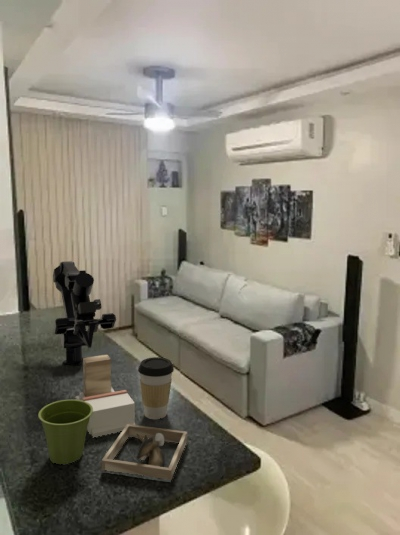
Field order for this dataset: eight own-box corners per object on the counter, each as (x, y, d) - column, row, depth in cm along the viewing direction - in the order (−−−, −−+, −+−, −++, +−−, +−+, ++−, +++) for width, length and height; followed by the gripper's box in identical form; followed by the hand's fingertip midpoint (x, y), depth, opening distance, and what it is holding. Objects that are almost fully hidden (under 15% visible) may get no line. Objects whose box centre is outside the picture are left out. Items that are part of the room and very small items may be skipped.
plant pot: (64, 479, 89) (62, 430, 88) (28, 460, 95) (26, 414, 94) (104, 452, 99) (103, 408, 98) (69, 437, 105) (68, 394, 104)
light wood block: (83, 396, 124) (82, 357, 122) (106, 391, 127) (106, 353, 126) (86, 402, 120) (86, 362, 118) (110, 398, 123) (110, 359, 122)
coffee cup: (178, 409, 121) (179, 359, 119) (164, 425, 112) (165, 372, 110) (147, 403, 124) (147, 354, 122) (131, 418, 115) (131, 366, 113)
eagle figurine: (126, 449, 99) (128, 465, 90) (143, 422, 100) (146, 435, 91) (154, 464, 100) (158, 481, 91) (170, 437, 101) (175, 452, 92)
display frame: (127, 435, 107) (127, 424, 106) (187, 443, 104) (187, 431, 104) (101, 472, 92) (101, 460, 91) (170, 483, 89) (171, 470, 88)
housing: (73, 400, 125) (73, 380, 124) (113, 393, 130) (113, 373, 129) (91, 438, 105) (90, 414, 104) (137, 428, 110) (137, 405, 109)
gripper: (54, 293, 128) (61, 338, 120) (114, 288, 136) (124, 330, 128) (51, 312, 136) (57, 356, 128) (108, 307, 144) (117, 347, 136)
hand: (89, 347), depth 130 cm, fingers closed
